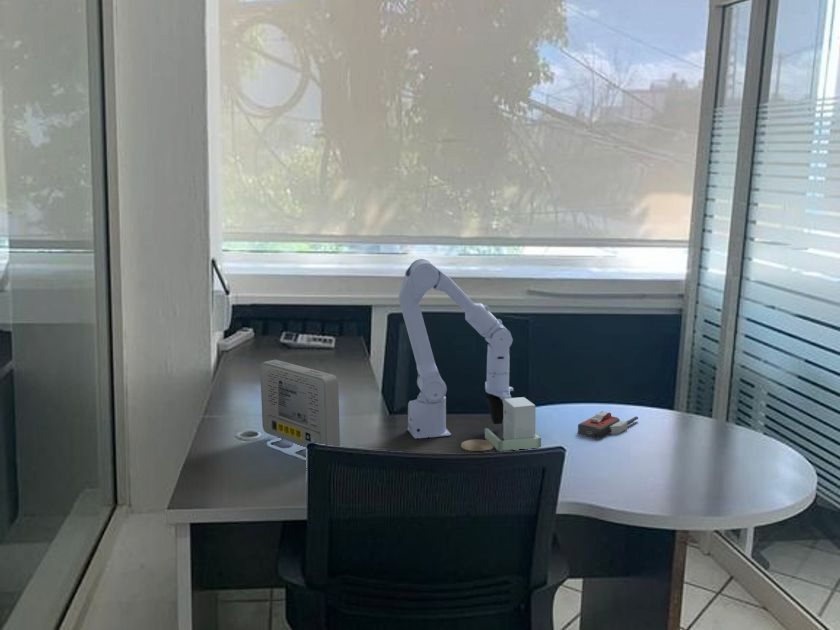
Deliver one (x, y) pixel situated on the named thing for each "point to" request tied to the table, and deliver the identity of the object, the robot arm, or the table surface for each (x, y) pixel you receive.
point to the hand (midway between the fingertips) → (497, 423)
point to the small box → (518, 418)
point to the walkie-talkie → (603, 425)
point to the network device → (299, 404)
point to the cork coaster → (477, 445)
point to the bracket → (512, 442)
